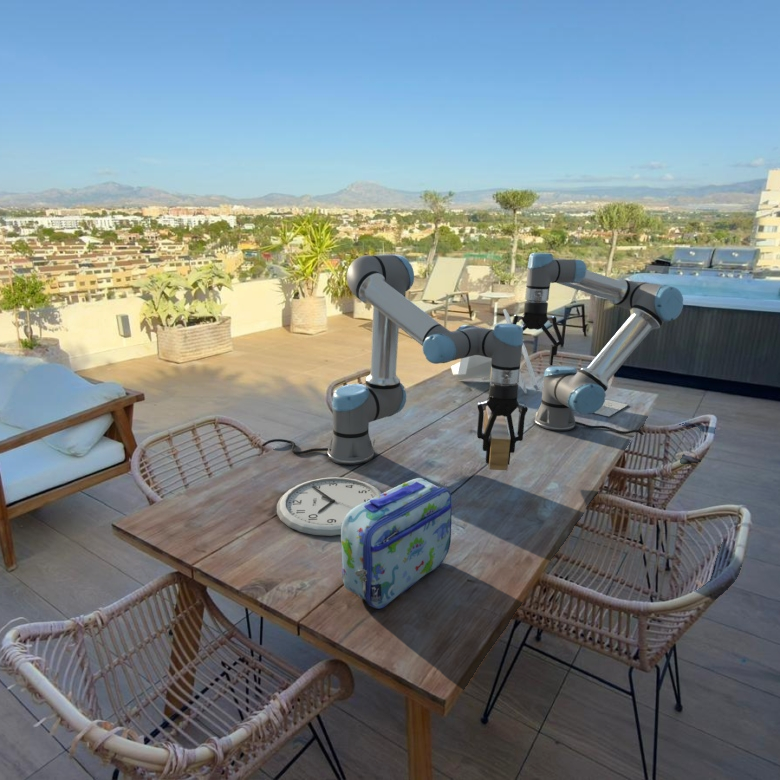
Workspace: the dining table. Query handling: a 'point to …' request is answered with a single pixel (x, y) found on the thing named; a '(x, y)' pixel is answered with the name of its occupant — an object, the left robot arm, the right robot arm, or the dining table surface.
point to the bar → (498, 442)
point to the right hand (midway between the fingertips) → (530, 363)
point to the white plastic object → (489, 366)
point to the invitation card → (610, 408)
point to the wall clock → (323, 504)
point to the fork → (441, 485)
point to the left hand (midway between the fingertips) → (497, 461)
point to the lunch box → (395, 540)
